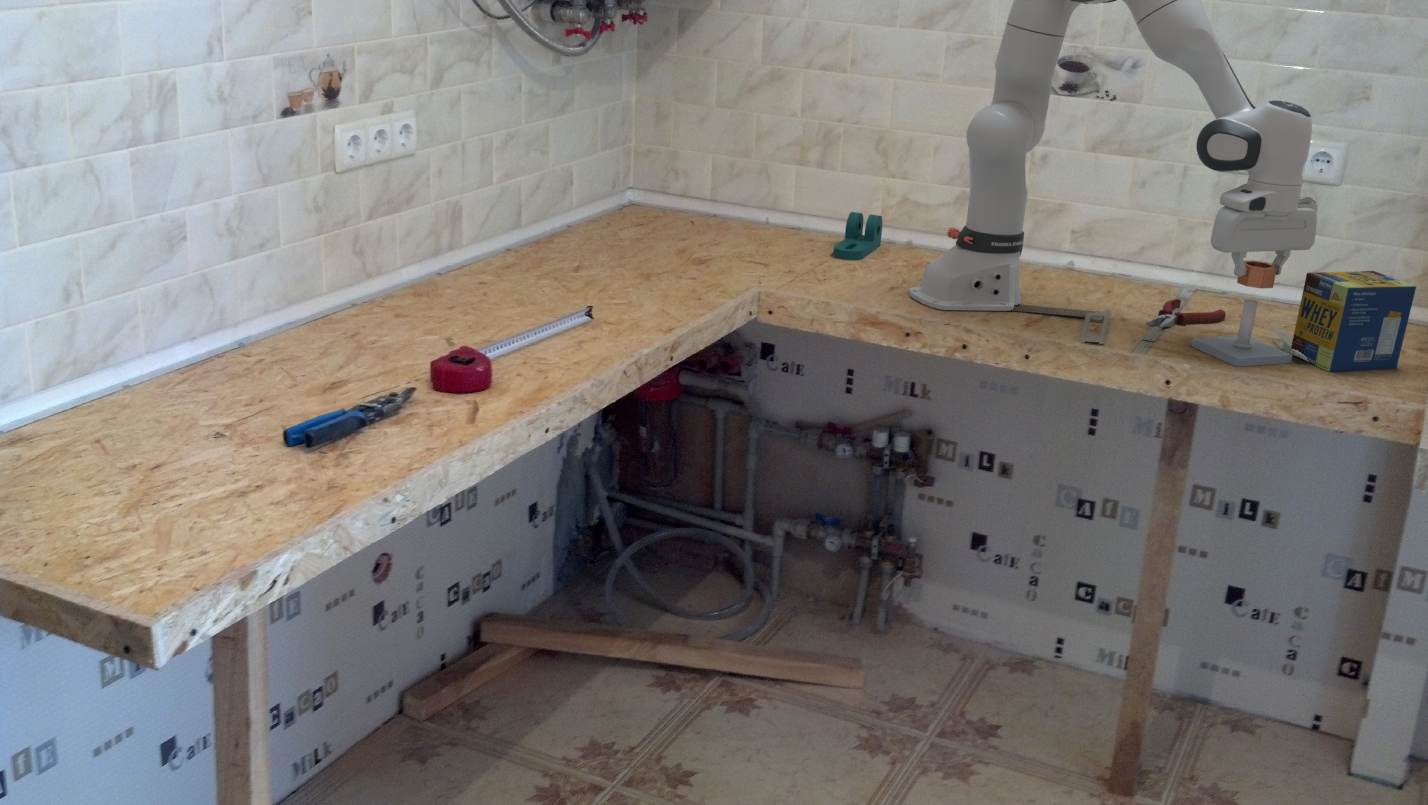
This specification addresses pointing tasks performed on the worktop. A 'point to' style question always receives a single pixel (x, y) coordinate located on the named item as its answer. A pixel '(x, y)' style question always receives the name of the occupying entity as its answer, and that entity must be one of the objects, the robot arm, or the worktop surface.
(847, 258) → the bracket
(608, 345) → the worktop surface
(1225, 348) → the shaft block
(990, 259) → the robot arm
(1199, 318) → the pliers
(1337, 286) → the protein box
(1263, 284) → the ring
